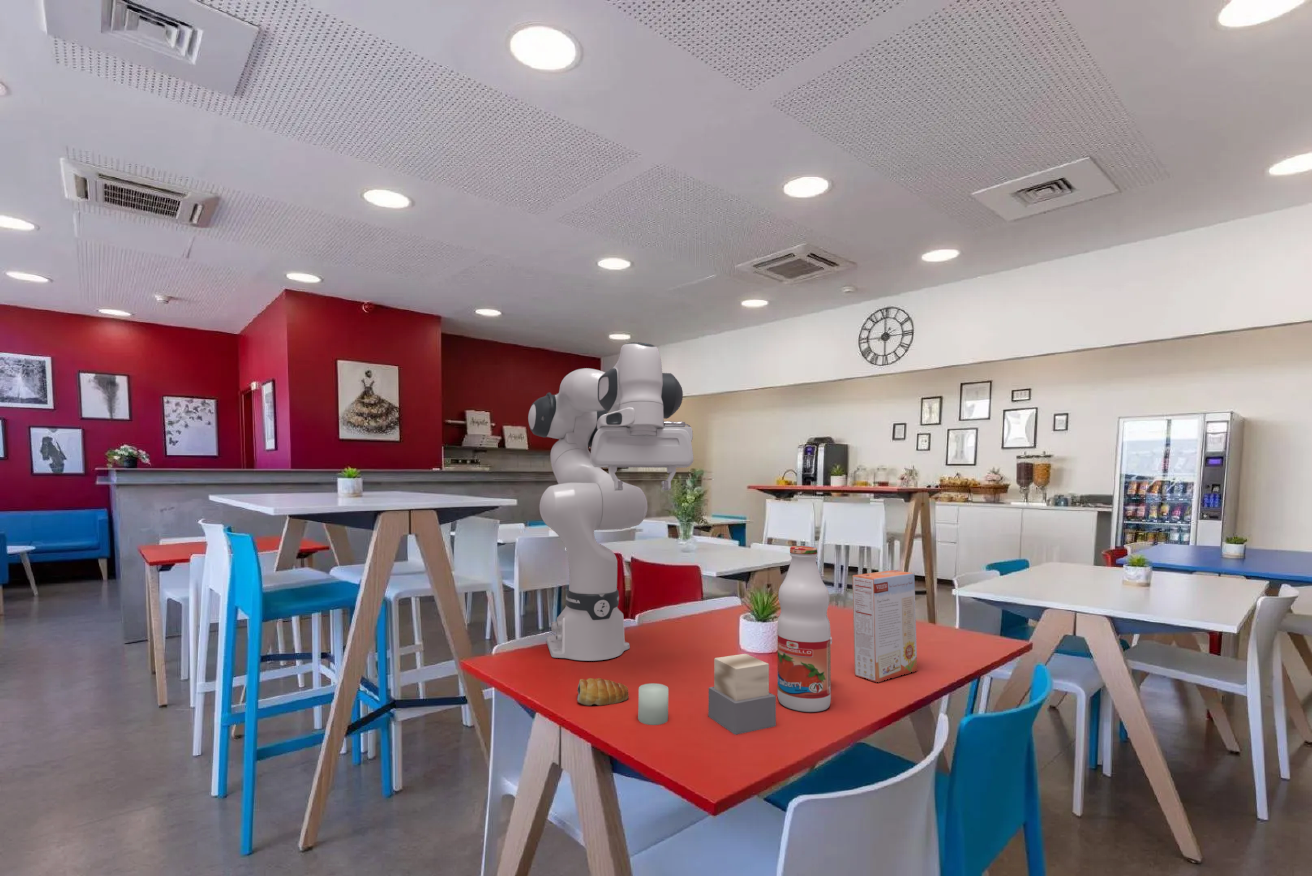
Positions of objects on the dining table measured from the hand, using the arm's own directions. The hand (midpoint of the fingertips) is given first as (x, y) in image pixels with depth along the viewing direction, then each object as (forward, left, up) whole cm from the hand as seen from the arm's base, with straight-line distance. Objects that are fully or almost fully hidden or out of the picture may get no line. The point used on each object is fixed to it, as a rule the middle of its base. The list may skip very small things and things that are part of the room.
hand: (642, 490), depth 116 cm
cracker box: (+12, +51, -38) cm, 65 cm away
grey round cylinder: (+13, -4, -38) cm, 40 cm away
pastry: (+1, -9, -38) cm, 39 cm away
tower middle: (+20, +9, -33) cm, 40 cm away
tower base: (+20, +9, -38) cm, 44 cm away
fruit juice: (+18, +24, -38) cm, 49 cm away
